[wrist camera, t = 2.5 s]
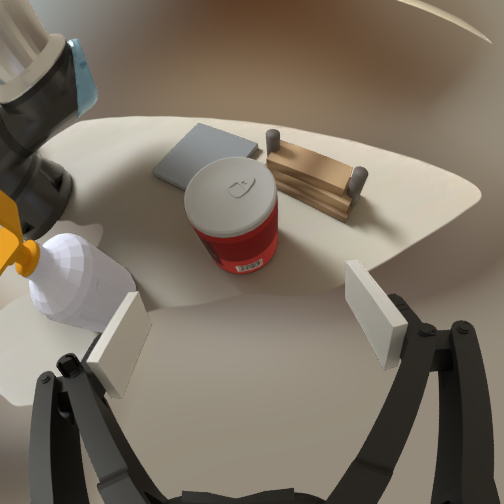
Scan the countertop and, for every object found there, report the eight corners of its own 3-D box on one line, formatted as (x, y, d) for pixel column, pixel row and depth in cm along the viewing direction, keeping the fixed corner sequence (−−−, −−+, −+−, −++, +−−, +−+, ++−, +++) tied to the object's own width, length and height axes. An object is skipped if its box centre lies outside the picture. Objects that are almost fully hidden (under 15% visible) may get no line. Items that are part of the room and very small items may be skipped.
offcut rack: (259, 181, 35) (255, 144, 29) (278, 156, 37) (277, 119, 30) (345, 224, 32) (360, 192, 26) (360, 194, 33) (374, 161, 27)
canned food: (290, 232, 32) (294, 176, 22) (252, 289, 30) (239, 253, 20) (236, 204, 34) (221, 144, 24) (198, 255, 32) (165, 208, 22)
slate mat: (154, 175, 38) (152, 171, 37) (199, 127, 41) (198, 122, 40) (212, 204, 35) (210, 200, 34) (258, 148, 38) (257, 143, 37)
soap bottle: (74, 294, 32) (-70, 213, 9) (117, 251, 34) (-16, 130, 11) (102, 347, 29) (-78, 296, 6) (151, 302, 31) (-25, 191, 8)
